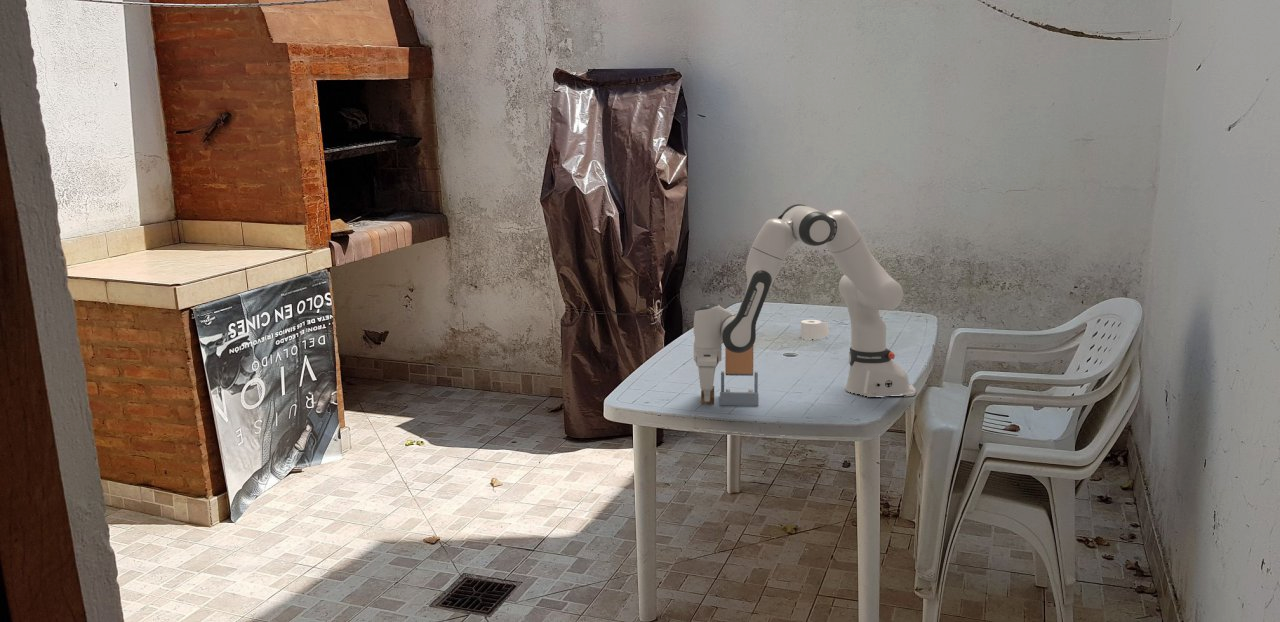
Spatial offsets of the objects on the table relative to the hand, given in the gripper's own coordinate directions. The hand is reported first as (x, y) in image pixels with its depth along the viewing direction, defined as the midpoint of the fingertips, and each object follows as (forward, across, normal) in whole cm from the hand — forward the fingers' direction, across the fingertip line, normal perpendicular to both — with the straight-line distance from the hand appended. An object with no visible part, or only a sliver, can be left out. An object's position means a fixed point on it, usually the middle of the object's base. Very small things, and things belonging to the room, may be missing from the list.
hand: (707, 396), depth 313 cm
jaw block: (+2, 0, 0) cm, 2 cm away
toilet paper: (+2, -93, +41) cm, 102 cm away
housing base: (+2, -2, +10) cm, 10 cm away
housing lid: (-11, -8, +10) cm, 17 cm away
